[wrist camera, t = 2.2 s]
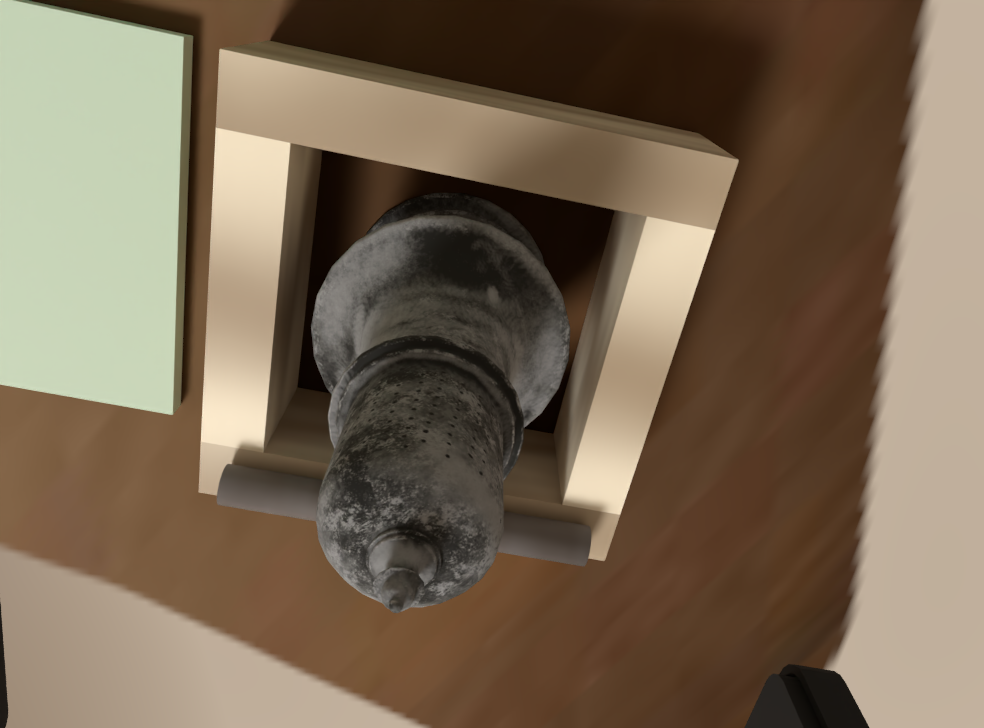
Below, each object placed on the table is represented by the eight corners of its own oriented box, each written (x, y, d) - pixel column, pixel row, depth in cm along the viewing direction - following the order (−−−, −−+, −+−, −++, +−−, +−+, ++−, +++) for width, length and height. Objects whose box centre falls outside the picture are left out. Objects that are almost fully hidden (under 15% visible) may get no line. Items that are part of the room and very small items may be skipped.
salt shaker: (397, 415, 22) (301, 807, 11) (301, 231, 20) (65, 503, 9) (589, 345, 21) (683, 702, 10) (511, 144, 19) (526, 332, 8)
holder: (269, 40, 18) (201, 51, 14) (699, 133, 19) (753, 169, 15) (241, 422, 22) (183, 516, 18) (590, 485, 23) (609, 586, 19)
